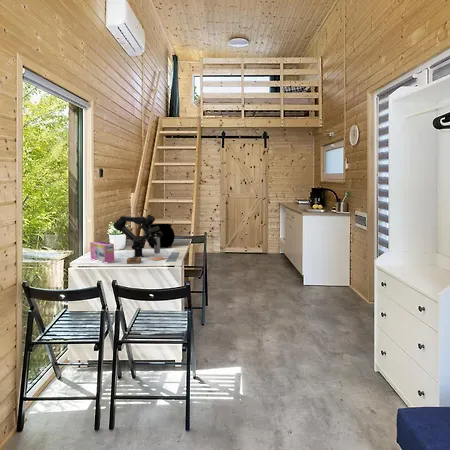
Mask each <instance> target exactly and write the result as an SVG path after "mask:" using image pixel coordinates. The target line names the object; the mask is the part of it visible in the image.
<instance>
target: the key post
mask: <svg viewBox="0 0 450 450" xmlns="http://www.w3.org/2000/svg"><path fill="white" fill-rule="evenodd" d="M154 240H155V242H156V243H157V246H156V245H154V248H153V253H154V254H155V255H157V254H161V248H160V238H159V237H154Z"/></svg>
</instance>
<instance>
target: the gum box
mask: <svg viewBox="0 0 450 450" xmlns="http://www.w3.org/2000/svg"><path fill="white" fill-rule="evenodd" d="M89 245H90V248H89V249H90V259H91V258H92V259H95V260H99V261H102V262H101V263H103V262H110V263H113V261H114V262H115V247H114V246H115V244H114V243H110V242H106V241H105V242H104V241H101V240H97V241H96V242H92V241H90V242H89ZM92 259H91V260H92ZM95 260H94V261H95ZM99 261H98V262H99Z"/></svg>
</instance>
